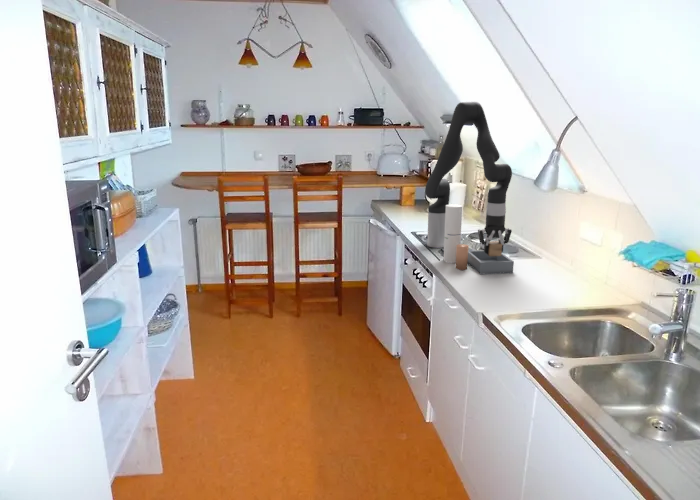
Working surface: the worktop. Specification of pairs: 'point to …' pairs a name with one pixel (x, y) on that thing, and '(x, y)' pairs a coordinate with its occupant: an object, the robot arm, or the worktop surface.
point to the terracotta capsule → (461, 256)
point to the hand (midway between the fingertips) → (493, 253)
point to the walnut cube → (495, 248)
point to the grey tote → (489, 263)
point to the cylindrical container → (452, 231)
